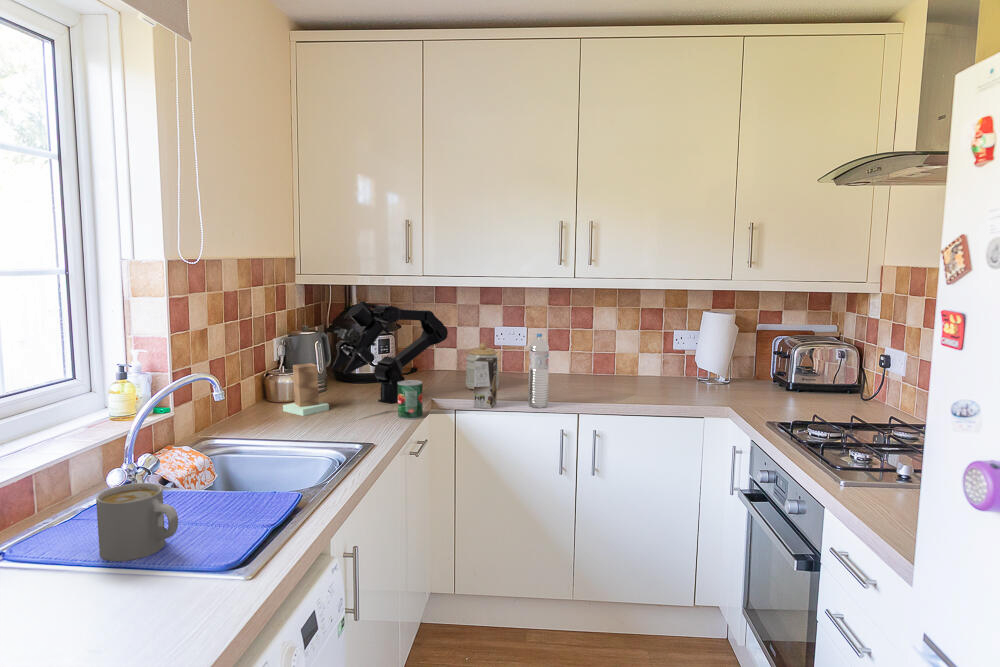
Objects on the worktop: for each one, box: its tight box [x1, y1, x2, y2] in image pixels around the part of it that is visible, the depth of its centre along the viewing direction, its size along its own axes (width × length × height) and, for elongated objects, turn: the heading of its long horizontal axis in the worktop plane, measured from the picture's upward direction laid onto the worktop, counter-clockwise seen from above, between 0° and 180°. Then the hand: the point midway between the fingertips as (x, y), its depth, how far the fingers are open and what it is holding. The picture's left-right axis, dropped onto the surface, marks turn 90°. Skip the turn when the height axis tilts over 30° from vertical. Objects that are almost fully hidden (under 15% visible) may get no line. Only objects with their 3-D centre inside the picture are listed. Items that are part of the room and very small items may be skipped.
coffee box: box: [473, 357, 498, 409], centre depth 224 cm, size 9×6×16 cm
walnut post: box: [292, 362, 320, 407], centre depth 209 cm, size 6×6×12 cm
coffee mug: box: [95, 482, 179, 562], centre depth 113 cm, size 13×10×10 cm
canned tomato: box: [397, 379, 424, 420], centre depth 208 cm, size 8×8×11 cm
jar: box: [465, 342, 500, 388], centre depth 253 cm, size 13×13×18 cm
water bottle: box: [527, 333, 550, 409], centre depth 224 cm, size 7×7×25 cm
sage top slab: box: [282, 401, 330, 417], centre depth 209 cm, size 10×10×2 cm
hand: (338, 371), depth 215 cm, fingers open, 9 cm apart
